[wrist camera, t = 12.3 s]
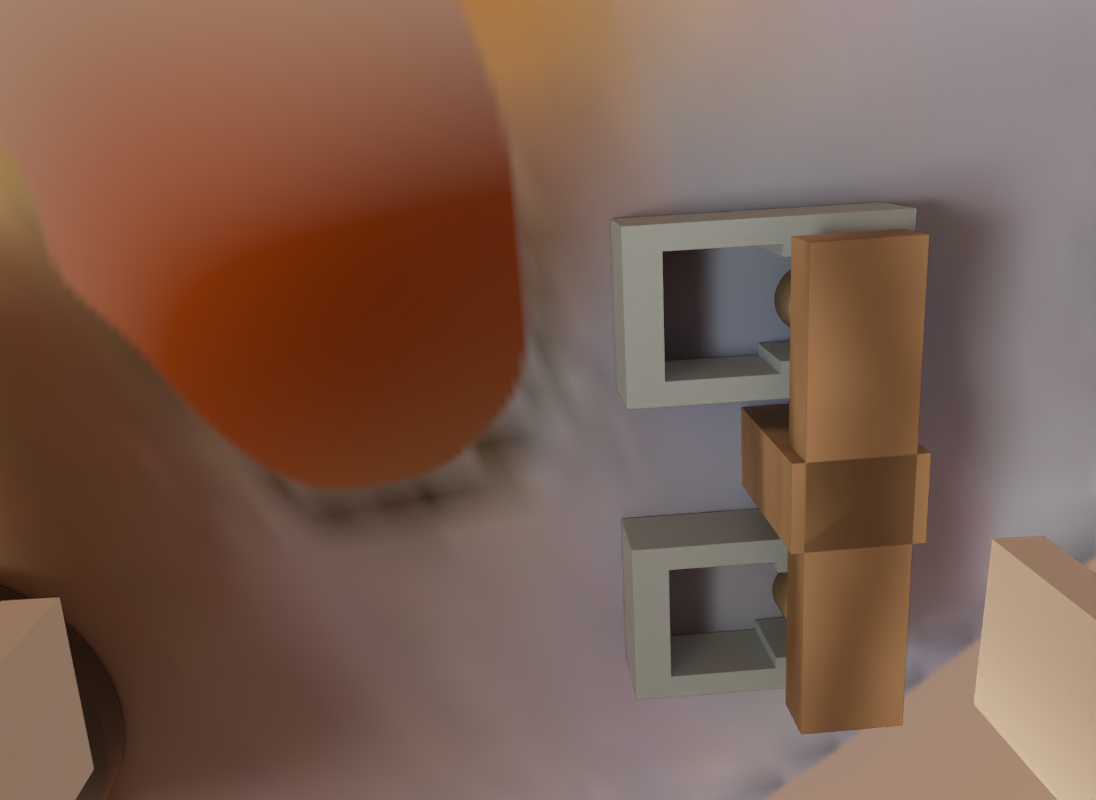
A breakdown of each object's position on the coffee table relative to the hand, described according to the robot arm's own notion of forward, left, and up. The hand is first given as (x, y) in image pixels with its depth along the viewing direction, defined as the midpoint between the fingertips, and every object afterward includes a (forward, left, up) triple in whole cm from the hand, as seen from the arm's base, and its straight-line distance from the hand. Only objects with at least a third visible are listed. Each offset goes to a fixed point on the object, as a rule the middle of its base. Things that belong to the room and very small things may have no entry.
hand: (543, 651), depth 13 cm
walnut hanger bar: (+12, -6, -26) cm, 29 cm away
